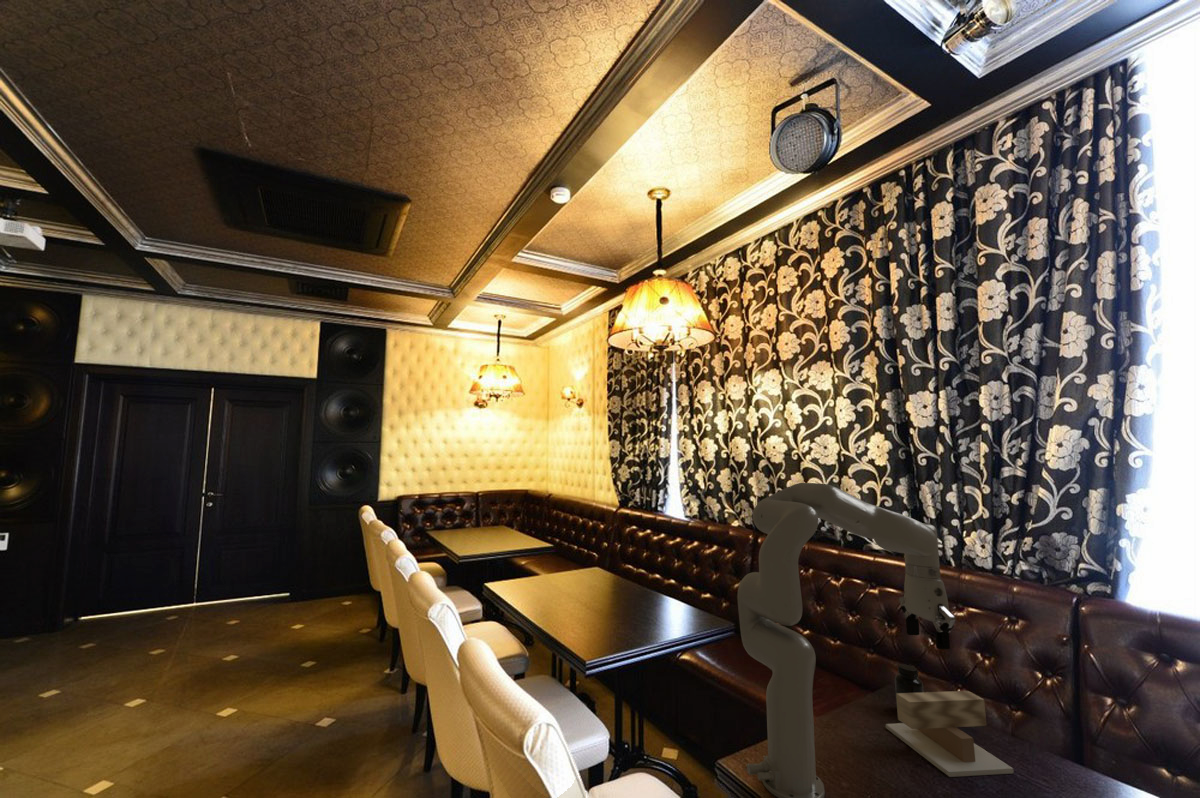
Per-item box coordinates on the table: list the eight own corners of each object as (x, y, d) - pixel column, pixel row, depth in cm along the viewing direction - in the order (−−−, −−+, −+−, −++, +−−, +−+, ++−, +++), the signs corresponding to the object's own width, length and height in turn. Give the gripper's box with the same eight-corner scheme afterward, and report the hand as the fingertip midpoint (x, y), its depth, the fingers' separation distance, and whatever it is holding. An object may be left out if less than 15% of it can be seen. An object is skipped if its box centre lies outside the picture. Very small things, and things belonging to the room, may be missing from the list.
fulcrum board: (949, 776, 105) (946, 747, 106) (885, 728, 124) (884, 703, 125) (1013, 773, 106) (1010, 744, 107) (941, 725, 126) (939, 701, 127)
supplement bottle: (929, 721, 128) (925, 674, 130) (900, 716, 130) (897, 670, 132) (921, 709, 135) (917, 664, 137) (893, 704, 137) (890, 661, 139)
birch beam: (970, 716, 120) (968, 690, 120) (986, 725, 115) (984, 699, 116) (898, 719, 117) (896, 693, 118) (911, 729, 113) (909, 702, 114)
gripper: (964, 579, 114) (970, 654, 112) (911, 565, 131) (915, 630, 129) (935, 579, 113) (941, 654, 111) (886, 564, 131) (889, 630, 128)
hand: (927, 641), depth 120 cm, fingers open, 9 cm apart
